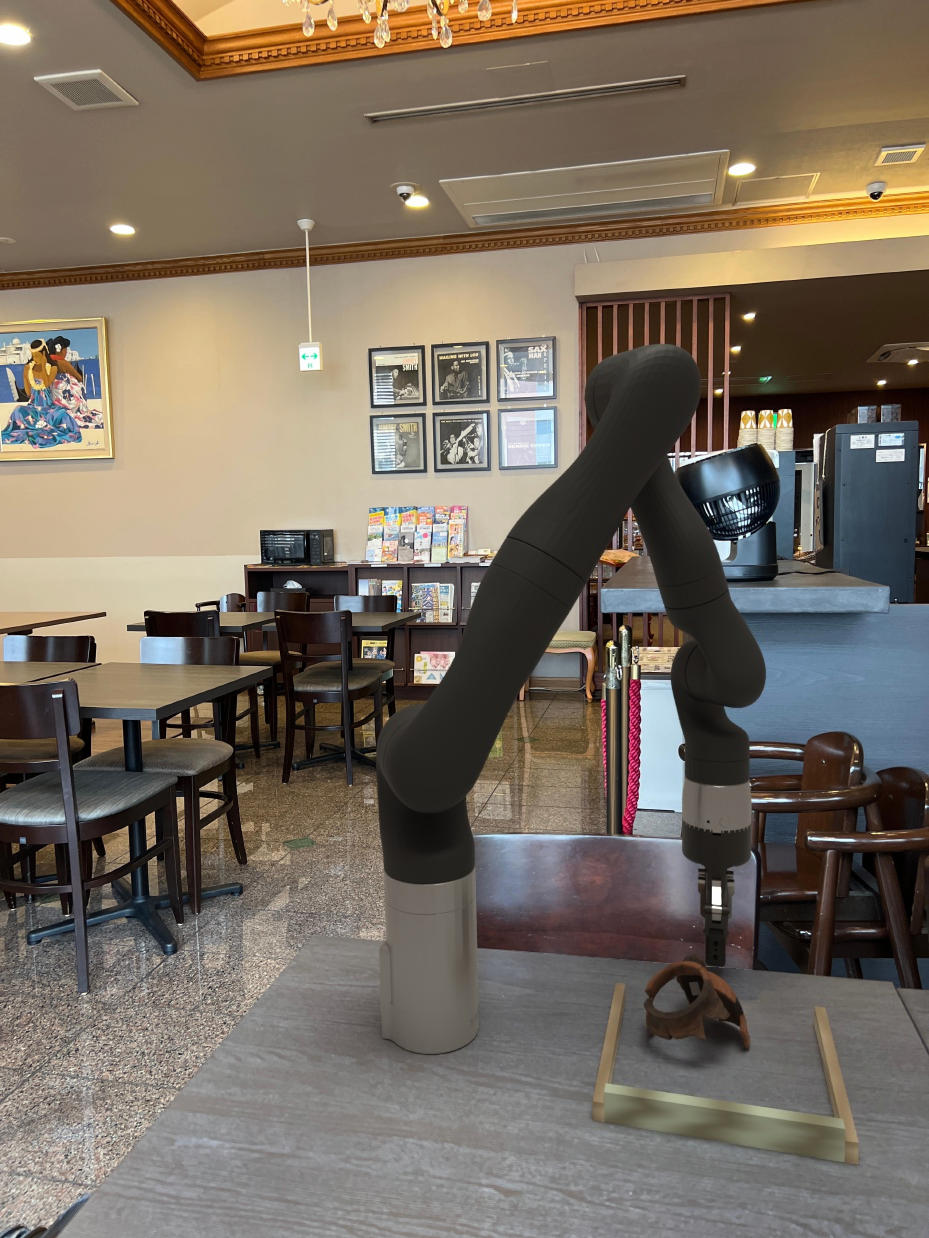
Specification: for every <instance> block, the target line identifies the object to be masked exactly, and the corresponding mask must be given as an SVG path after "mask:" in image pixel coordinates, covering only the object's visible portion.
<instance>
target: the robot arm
mask: <svg viewBox="0 0 929 1238" xmlns="http://www.w3.org/2000/svg"><path fill="white" fill-rule="evenodd" d="M701 393H702V379H701V373H700V369H699V366H698V364H697V362H696V360H695V359H694V357H693V356H692V354H690V353H689V351H687V350H685V349H683V348H682V347H680V346H677V345H675V344H669V343H656V344H654V343H653V344H647V345H643V346H639V347H636V348H633V349H629V350H626V351H622V352H619V353H616V354H612V355H610V356H608V357H606V358H604V359H603V360H601V361H600V362H598V364H597V365H595V366H594V368H593V369H592V370H591V372H590V374H589V375H588V378H587V380H586V383H585V387H584V406H585V410H586V413H587V417H588V419H589V421H590V422H589V423H590V424H591V427H592V429H593V433H592V434H591V436H590V438H589V439H588V441H587V443H586V444H585V446H584V448H583V449H582V450H581V452H580V454H579V455H578V456H577V457H576V459H575V460H574V461H573V463H571V464H570V466H568V468H567V469H565V471H563V473H562V474H561V475H559V477H558V478H557V479H556V480H554V482H553V483H552V484H550V485H549V486H548V488H547V489H546V490H544V491H543V493H541V494H540V495H539V496H538V497H537V498H536V499H535V500H534V502H533V503H532V504H531V505H529V506H528V508H527V509H526V510H525V512H523V513H522V515H521V516H520V517H519V519H518V520H517V521H516V522H515V523H514V525H513V526H512V527H511V529H510V530H509V531H508V533H507V535H506V538H504V540H503V542H502V543H501V545H500V546H499V548H498V551H497V552H496V553H495V555H494V557H493V558H492V560H491V562H490V563H489V565H488V567H487V569H486V571H485V573H484V575H483V577H482V578H481V581H480V582H479V585H478V588H477V590H476V592H475V595H474V598H473V600H472V603H471V607H470V610H469V613H468V617H467V620H466V623H465V625H464V630H463V632H462V636H461V638H460V642H459V644H458V647H457V650H456V652H455V655H454V657H453V659H452V661H451V663H450V665H449V667H448V668H447V669H446V672H445V673H444V675H443V677H442V679H441V680H440V681H439V683H438V685H437V686H436V687H435V689H434V690H433V691H432V693H431V695H430V697H429V698H428V699H427V700H426V702H425V703H419V704H412V705H411V704H410V705H407V706H405V707H403V708H401V709H398V711H395V713H393V714H392V715H391V716H390V717H389V718H388V719H387V721H386V722H385V723H384V725H383V726H382V728H381V730H380V732H379V735H378V739H377V742H376V751H375V753H376V754H375V755H376V756H375V757H376V758H375V761H376V762H375V763H376V765H375V766H376V789H377V807H378V808H377V809H378V825H379V827H378V828H379V836H380V842H381V850H382V861H383V885H384V912H385V913H384V916H385V940H384V941H383V943H381V945H380V947H379V949H378V957H379V958H378V959H379V961H378V963H379V964H378V965H379V986H380V987H379V989H380V990H379V992H380V1016H381V1017H380V1018H381V1038H382V1039H385V1040H386V1039H387V1040H391V1041H392V1042H394V1043H395V1044H396V1045H397V1046H398V1047H400V1048H402V1049H404V1050H406V1051H410V1052H413V1053H417V1054H423V1055H436V1054H438V1055H439V1054H445V1053H448V1052H453V1051H456V1050H458V1049H461V1048H463V1047H465V1046H467V1045H469V1043H470V1042H472V1041H473V1040H474V1039H475V1038H476V1036H477V1034H478V1032H479V1028H480V1025H479V1023H480V1022H479V1017H480V1016H479V1013H480V1005H479V978H478V977H479V976H478V974H479V973H478V971H479V970H478V967H479V965H478V931H477V930H478V929H477V886H476V885H477V883H476V882H477V880H476V879H477V878H476V852H475V851H476V847H475V846H476V845H475V839H474V835H473V832H472V827H471V823H470V819H469V813H468V812H469V811H468V806H467V795H469V793H470V792H471V791H472V790H473V788H474V787H475V784H476V783H477V782H478V780H479V777H480V776H481V773H482V771H483V769H484V768H485V765H486V763H487V760H488V758H489V756H490V753H491V752H492V749H493V747H494V745H495V743H496V741H497V739H498V736H499V733H500V732H501V730H502V727H503V726H504V723H505V721H506V719H507V718H508V715H509V713H510V710H511V709H512V707H513V705H514V703H515V701H516V699H517V697H518V695H519V694H520V692H521V691H522V689H523V688H524V686H525V684H526V683H527V681H528V680H529V679H530V676H531V675H532V674H533V672H534V670H535V669H536V667H537V666H538V664H539V663H540V661H541V660H542V657H543V656H544V654H545V652H546V651H547V650H548V648H549V646H550V645H551V643H552V641H553V639H554V637H555V636H556V634H557V633H558V631H559V629H560V628H561V626H562V624H563V623H564V622H565V620H566V619H567V617H568V616H569V614H570V613H571V611H572V609H573V608H574V606H575V604H576V602H577V601H578V600H579V598H580V596H581V594H582V592H583V590H585V588H586V585H587V584H588V582H589V580H590V578H591V576H592V574H593V573H594V570H595V569H596V568H597V567H596V566H598V563H599V561H600V560H601V558H602V556H603V555H604V553H605V552H606V550H607V548H608V547H609V545H610V543H611V542H612V540H613V538H614V537H615V535H616V533H617V532H618V530H619V528H620V527H621V524H622V523H623V522H624V520H625V517H626V516H627V514H628V512H629V511H630V510H631V512H632V515H633V517H634V520H635V522H636V524H637V527H638V529H639V531H640V534H641V535H640V536H641V538H642V540H643V543H644V546H645V549H646V552H647V554H648V557H649V560H650V563H651V567H652V570H653V573H654V577H655V581H656V584H657V587H658V591H659V594H660V598H661V600H662V604H663V608H664V611H665V614H666V615H667V619H668V620H669V623H670V624H671V626H673V627H674V628H675V629H677V630H679V631H681V632H683V633H685V634H687V635H688V636H690V637H691V638H692V639H690V640H689V639H688V641H686V642H684V643H683V644H682V645H680V647H678V649H677V650H676V652H675V655H674V657H673V660H672V663H671V668H670V684H671V685H670V686H671V692H672V696H673V701H674V705H675V708H676V713H677V717H678V721H679V726H680V728H681V731H682V735H683V739H684V778H683V779H684V781H683V787H682V793H681V795H682V797H681V851H682V854H683V856H684V857H685V858H686V859H687V860H688V861H690V862H692V863H694V864H696V865H697V864H699V865H701V866H703V867H699V866H698V867H697V871H698V872H697V891H698V893H699V906H700V908H699V914H700V916H701V917H703V918H704V919H703V921H702V925H703V927H702V928H703V929H702V931H703V934H704V937H705V938H704V939H705V943H704V944H705V947H704V948H705V949H704V950H705V954H704V955H705V956H704V957H705V958H704V959H705V960H704V962H705V964H706V966H711V967H712V966H713V967H721V968H722V967H724V966H726V962H727V961H726V958H727V957H726V947H727V946H726V944H727V943H726V942H727V939H728V936H729V934H730V933H729V931H730V930H729V920H730V919H731V918H732V917H733V916H732V915H733V914H732V913H733V912H732V911H733V897H734V895H735V878H734V877H735V876H734V875H735V873H734V872H735V871H734V869H731V868H734V867H735V868H736V867H737V868H738V867H741V866H744V865H745V864H747V863H748V862H749V861H750V859H752V858H751V857H752V809H753V808H752V800H753V799H752V794H751V793H752V792H751V786H750V785H751V784H750V766H751V765H750V754H751V753H750V751H751V746H750V737H749V735H748V733H747V731H746V730H744V728H742V727H741V726H739V725H738V724H736V723H734V721H732V720H731V719H730V718H729V717H728V714H727V712H726V709H725V707H726V708H731V709H743V708H746V707H750V706H752V705H753V704H754V703H756V702H757V700H759V698H760V697H761V695H762V694H763V691H764V689H765V686H766V681H767V668H766V667H767V666H766V662H765V658H764V654H763V653H762V650H761V648H760V645H759V644H758V642H757V640H756V638H755V636H754V634H753V633H752V631H751V630H750V628H749V626H748V624H747V623H746V621H745V619H744V617H743V615H742V614H741V612H740V611H739V609H738V608H737V606H736V605H735V603H734V602H733V599H732V597H731V593H730V588H729V585H728V581H727V578H726V574H725V570H724V567H723V563H722V560H721V557H720V554H719V551H718V548H717V545H716V543H715V540H714V538H713V536H712V534H711V532H710V530H709V528H708V527H707V525H706V523H705V522H704V520H703V518H702V517H701V515H700V514H699V512H698V510H697V509H696V507H695V506H694V505H693V503H692V501H691V500H690V499H689V497H688V496H687V494H686V493H685V491H684V488H683V487H682V485H681V484H680V482H679V480H678V477H677V476H676V473H675V472H674V468H673V466H672V464H671V461H670V458H669V455H668V454H669V452H670V451H671V450H672V449H673V448H674V446H675V444H676V443H677V442H678V440H680V438H681V436H682V435H683V434H684V432H685V431H686V430H687V428H688V426H689V425H690V423H691V421H692V420H693V418H694V416H695V413H696V411H697V409H698V406H699V403H700V399H701Z"/></svg>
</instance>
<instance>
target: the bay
mask: <svg viewBox="0 0 929 1238" xmlns="http://www.w3.org/2000/svg"><path fill="white" fill-rule="evenodd" d="M612 995H613V996H612V1001H611V1007H610V1011H609V1017H608V1021H607V1025H606V1031H605V1035H604V1042H603V1046H602V1051H601V1056H600V1061H599V1067H598V1071H597V1077H596V1081H595V1086H594V1092H593V1097H592V1121H594V1122H596V1121H597V1122H600V1123H601V1122H602V1123H608V1124H613V1125H619V1126H624V1127H630V1128H637V1129H643V1130H649V1131H653V1132H654V1131H655V1132H659V1133H667V1134H673V1135H679V1136H685V1137H691V1138H695V1139H702V1140H709V1141H713V1142H714V1141H715V1142H721V1143H725V1144H731V1145H732V1144H733V1145H739V1146H744V1147H750V1148H757V1149H761V1150H769V1151H774V1152H780V1153H786V1154H792V1155H797V1156H803V1157H810V1158H816V1159H822V1160H827V1161H835V1162H840V1163H846V1164H852V1165H859V1149H860V1148H859V1147H860V1146H859V1145H860V1142H859V1139H858V1133H857V1130H856V1127H855V1122H854V1119H853V1115H852V1114H853V1113H852V1109H851V1107H850V1102H849V1098H848V1095H847V1094H848V1093H847V1090H846V1086H845V1082H844V1079H843V1078H844V1077H843V1074H842V1070H841V1066H840V1063H839V1059H838V1053H837V1049H836V1045H835V1042H834V1037H833V1034H832V1030H831V1026H830V1023H829V1022H830V1021H829V1019H828V1014H827V1010H826V1007H823V1006H814V1010H813V1011H814V1013H813V1014H814V1015H813V1017H814V1018H813V1019H814V1020H813V1026H814V1031H815V1034H816V1040H817V1045H818V1048H819V1053H820V1058H821V1063H822V1067H823V1071H824V1076H825V1080H826V1085H827V1090H828V1094H829V1095H828V1096H829V1098H830V1099H829V1101H830V1105H831V1109H832V1113H833V1116H826V1115H820V1114H813V1113H806V1112H800V1111H793V1110H785V1109H780V1108H774V1107H773V1108H771V1107H765V1106H759V1105H754V1104H753V1105H752V1104H747V1103H741V1102H740V1103H739V1102H732V1101H727V1100H718V1099H714V1098H708V1097H707V1098H706V1097H698V1096H692V1095H686V1094H679V1093H674V1092H666V1091H658V1090H653V1089H646V1088H640V1087H634V1086H627V1085H626V1086H625V1085H621V1084H620V1085H619V1084H614V1083H612V1081H613V1075H614V1071H615V1070H614V1069H615V1064H616V1058H617V1052H618V1047H619V1041H620V1036H621V1030H622V1024H623V1018H624V1013H625V1012H624V1011H625V1007H626V983H623V982H615V985H614V990H613V994H612Z"/></svg>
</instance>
